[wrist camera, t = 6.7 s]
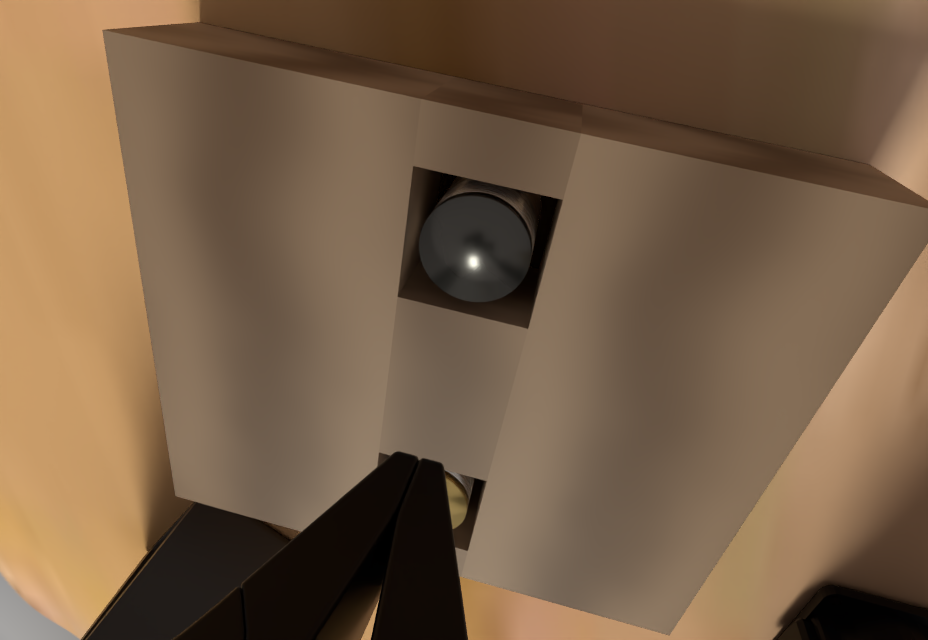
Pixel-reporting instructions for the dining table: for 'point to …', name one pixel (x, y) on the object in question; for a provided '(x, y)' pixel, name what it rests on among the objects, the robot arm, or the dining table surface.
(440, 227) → the black capped peg
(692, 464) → the walnut block
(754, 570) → the dining table surface
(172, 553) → the phone stand
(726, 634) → the dining table surface
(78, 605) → the dining table surface
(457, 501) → the brass capped peg
